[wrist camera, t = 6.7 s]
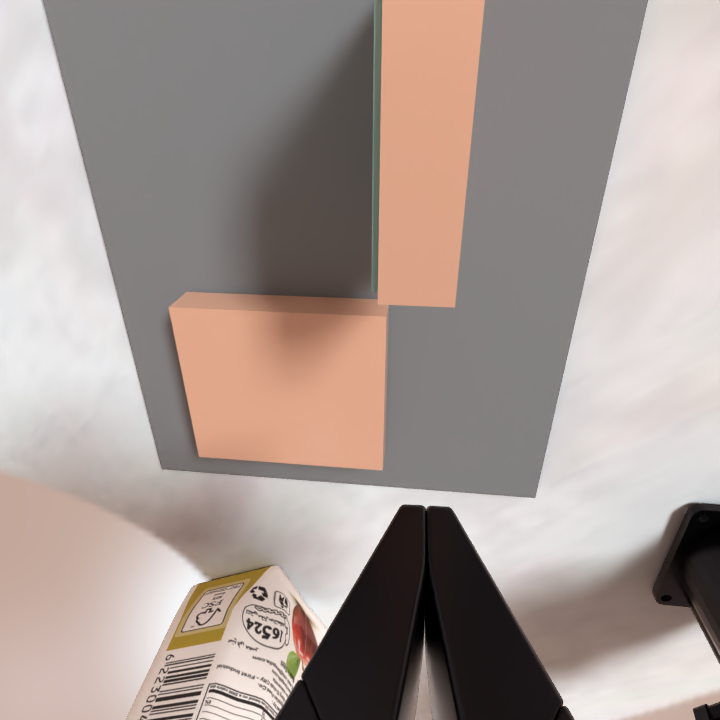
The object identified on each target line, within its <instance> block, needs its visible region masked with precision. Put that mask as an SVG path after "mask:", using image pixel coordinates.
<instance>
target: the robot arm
mask: <svg viewBox="0 0 720 720" xmlns="http://www.w3.org/2000/svg"><path fill="white" fill-rule="evenodd" d="M699 515H700V516H699ZM652 593H653V595H654V598H655V600H656V601H657V602H658V603H659V604H663V605H672V606H683V607H690V608H691V610H692V612H693V614H694V615H695V617H696V619H697V621H698V623H699V625H700V627H701V629H702V631H703V633H704V635H705V637H706V639H707V641H708V642H709V644H710V646H711V648H712V650H713V652H714V654H715V656H716V658H717V660H718V662H719V664H720V505H716V504H703V503H702V504H695V505H693V506H691V507H690V508H689V509H688V510H687V512H686V514H685V516H684V519H683V521H682V523H681V526H680V528H679V530H678V533H677V535H676V537H675V539H674V542H673V544H672V546H671V549H670V551H669V553H668V556H667V558H666V560H665V563H664V565H663V567H662V569H661V572H660V574H659V576H658V579H657V581H656V583H655V586H654V588H653V590H652ZM424 619H425V653H426V664H427V673H428V683H429V692H430V701H431V711H432V720H574V718H573V716H572V714H571V713H570V711H569V709H568V708H567V707H566V706H563V699H562V698H561V696H560V694H559V692H558V691H557V689H556V687H555V686H554V684H553V682H552V680H551V679H550V677H549V675H548V673H547V672H546V670H545V668H544V667H543V665H542V663H541V661H540V660H539V658H538V656H537V654H536V653H535V651H534V649H533V648H532V646H531V644H530V642H529V641H528V639H527V637H526V635H525V634H524V632H523V630H522V629H521V627H520V625H519V623H518V622H517V620H516V618H515V616H514V615H513V613H512V611H511V610H510V608H509V606H508V604H507V603H506V601H505V599H504V597H503V596H502V594H501V592H500V591H499V589H498V587H497V585H496V584H495V582H494V580H493V579H492V577H491V575H490V573H489V572H488V570H487V568H486V566H485V565H484V563H483V561H482V560H481V558H480V556H479V554H478V553H477V551H476V549H475V547H474V546H473V544H472V542H471V541H470V539H469V537H468V535H467V534H466V532H465V530H464V528H463V527H462V525H461V523H460V522H459V520H458V518H457V516H456V515H455V513H454V511H453V510H452V509H451V508H450V507H441V506H429V507H427V509H426V508H425V507H424V506H422V505H402V506H401V507H400V508H399V510H398V511H397V513H396V515H395V516H394V518H393V520H392V521H391V523H390V525H389V527H388V528H387V530H386V532H385V533H384V535H383V537H382V538H381V540H380V542H379V544H378V545H377V547H376V549H375V550H374V552H373V554H372V555H371V557H370V559H369V561H368V562H367V564H366V566H365V567H364V569H363V571H362V572H361V574H360V576H359V578H358V579H357V581H356V583H355V584H354V586H353V588H352V589H351V591H350V593H349V595H348V596H347V598H346V600H345V601H344V603H343V605H342V606H341V608H340V610H339V612H338V613H337V615H336V617H335V618H334V620H333V622H332V623H331V625H330V627H329V629H328V630H327V632H326V634H325V635H324V637H323V639H322V640H321V642H320V644H319V646H318V647H317V649H316V651H315V652H314V654H313V656H312V657H311V659H310V661H309V663H308V664H307V666H306V668H305V669H304V671H303V673H302V675H301V679H302V680H298V681H297V682H296V684H295V686H294V687H293V689H292V691H291V693H290V694H289V696H288V698H287V699H286V701H285V703H284V704H283V706H282V708H281V709H280V711H279V713H278V714H277V716H276V717H275V719H274V720H415V714H416V706H417V698H418V690H419V682H420V673H421V665H422V656H423V646H424ZM693 712H694V715H695V719H696V720H720V702H719V703H715V704H713V705H710V706H708V705H707V704H704V705H701V706H699V707H696V708H694V709H693Z"/></svg>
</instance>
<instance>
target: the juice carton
mask: <svg viewBox="0 0 720 720" xmlns="http://www.w3.org/2000/svg"><path fill="white" fill-rule="evenodd" d="M327 630H328V629H327V628H326V627H325V625H324V624H323V623H322V621H321V620H320V619H319V617H318V616H317V615H316V614H315V613H314V612H313V611H312V609H311V608H310V607H309V606H308V605H307V604H306V603H305V601H304V600H303V598H302V597H301V595H300V593H299V592H298V590H297V589H296V587H295V586H294V584H293V583H292V581H291V580H290V579H289V577H288V576H287V575H286V573H285V572H284V571H283V570H282V569H281V568H280V567H279V566H270V567H266V568H261V569H257V570H253V571H249V572H245V573H241V574H237V575H232V576H228V577H224V578H220V579H216V580H212V581H208V582H204V583H200V584H197V585H195V586H193V587H192V588H191V590H190V591H189V593H188V595H187V596H186V598H185V600H184V601H183V603H182V605H181V607H180V608H179V610H178V612H177V614H176V616H175V618H174V619H173V621H172V623H171V626H170V628H169V630H168V632H167V634H166V636H165V638H164V640H163V642H162V645H161V647H160V649H159V651H158V653H157V655H156V657H155V659H154V661H153V663H152V666H151V668H150V670H149V672H148V674H147V676H146V678H145V680H144V683H143V685H142V687H141V689H140V691H139V693H138V695H137V697H136V699H135V702H134V704H133V706H132V708H131V710H130V712H129V714H128V716H127V718H126V720H274V719H275V717H276V716H277V714H278V713H279V711H280V709H281V708H282V706H283V704H284V703H285V701H286V699H287V698H288V696H289V694H290V693H291V691H292V689H293V687H294V686H295V684H296V682H297V681H298V680H302V679H301V675H302V673H303V671H304V669H305V668H306V666H307V664H308V663H309V661H310V659H311V657H312V656H313V654H314V652H315V651H316V649H317V647H318V646H319V644H320V642H321V640H322V639H323V637H324V635H325V634H326V632H327Z"/></svg>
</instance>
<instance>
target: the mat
mask: <svg viewBox="0 0 720 720" xmlns="http://www.w3.org/2000/svg"><path fill="white" fill-rule="evenodd" d="M43 2H44V6H45V10H46V14H47V17H48V21H49V25H50V29H51V33H52V37H53V41H54V45H55V49H56V53H57V57H58V61H59V65H60V69H61V73H62V77H63V80H64V84H65V88H66V92H67V96H68V100H69V104H70V108H71V112H72V116H73V120H74V124H75V128H76V132H77V136H78V140H79V143H80V147H81V151H82V155H83V159H84V163H85V167H86V171H87V175H88V179H89V183H90V187H91V191H92V195H93V199H94V203H95V206H96V210H97V214H98V218H99V222H100V226H101V230H102V234H103V238H104V242H105V246H106V250H107V254H108V258H109V262H110V266H111V269H112V273H113V277H114V281H115V285H116V289H117V293H118V297H119V301H120V305H121V309H122V313H123V317H124V321H125V325H126V329H127V332H128V336H129V340H130V344H131V348H132V352H133V356H134V360H135V364H136V368H137V372H138V376H139V380H140V384H141V388H142V392H143V395H144V399H145V403H146V407H147V411H148V415H149V419H150V423H151V427H152V431H153V435H154V439H155V443H156V447H157V451H158V455H159V458H160V462H161V466H162V469H168V470H181V471H194V472H207V473H220V474H233V475H246V476H258V477H271V478H284V479H297V480H310V481H323V482H336V483H349V484H362V485H375V486H388V487H401V488H413V489H426V490H439V491H452V492H465V493H478V494H491V495H504V496H517V497H530V498H535V496H536V492H537V488H538V483H539V479H540V474H541V470H542V466H543V461H544V457H545V452H546V448H547V444H548V439H549V435H550V430H551V426H552V422H553V417H554V413H555V408H556V404H557V399H558V395H559V391H560V386H561V382H562V377H563V373H564V369H565V364H566V360H567V355H568V351H569V347H570V342H571V338H572V333H573V329H574V325H575V320H576V316H577V311H578V307H579V303H580V298H581V294H582V289H583V285H584V280H585V276H586V272H587V267H588V263H589V258H590V254H591V250H592V245H593V241H594V236H595V232H596V228H597V223H598V219H599V214H600V210H601V206H602V201H603V197H604V192H605V188H606V183H607V179H608V175H609V170H610V166H611V161H612V157H613V153H614V148H615V144H616V139H617V135H618V131H619V126H620V122H621V117H622V113H623V109H624V104H625V100H626V95H627V91H628V86H629V82H630V78H631V73H632V69H633V64H634V60H635V56H636V51H637V47H638V42H639V38H640V34H641V29H642V25H643V20H644V16H645V12H646V7H647V3H648V0H485V4H484V14H483V24H482V34H481V45H480V55H479V65H478V76H477V86H476V96H475V107H474V117H473V127H472V137H471V148H470V158H469V168H468V179H467V189H466V199H465V210H464V220H463V230H462V240H461V251H460V261H459V271H458V282H457V292H456V302H455V308H454V307H430V306H405V305H389V327H388V363H387V399H386V435H385V453H384V462H383V470H369V469H356V468H342V467H329V466H315V465H302V464H289V463H275V462H262V461H248V460H235V459H221V458H208V457H199V454H198V449H197V445H196V440H195V435H194V430H193V425H192V420H191V415H190V410H189V405H188V400H187V396H186V391H185V386H184V381H183V376H182V371H181V366H180V361H179V356H178V351H177V347H176V342H175V337H174V332H173V327H172V322H171V317H170V312H169V306H171V305H172V304H173V303H174V302H175V301H177V300H178V299H179V298H180V297H181V296H182V295H184V294H185V293H186V292H204V293H229V294H254V295H280V296H305V297H331V298H356V299H378V292H371V291H372V182H373V72H374V0H43Z"/></svg>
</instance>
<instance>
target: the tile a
mask: <svg viewBox="0 0 720 720" xmlns="http://www.w3.org/2000/svg"><path fill="white" fill-rule="evenodd" d="M169 312H170V317H171V322H172V327H173V332H174V337H175V342H176V347H177V351H178V356H179V361H180V366H181V371H182V376H183V381H184V386H185V391H186V396H187V400H188V405H189V410H190V415H191V420H192V425H193V430H194V435H195V440H196V445H197V449H198V454H199V457H208V458H221V459H235V460H248V461H262V462H275V463H289V464H302V465H315V466H329V467H342V468H356V469H369V470H383V462H384V453H385V435H386V399H387V363H388V327H389V305H380V304H378V299H356V298H331V297H305V296H280V295H254V294H229V293H204V292H186V293H185V294H184V295H182V296H181V297H180V298H179V299H178V300H177V301H175V302H174V303H173V304H172V305H171V306H169Z"/></svg>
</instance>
